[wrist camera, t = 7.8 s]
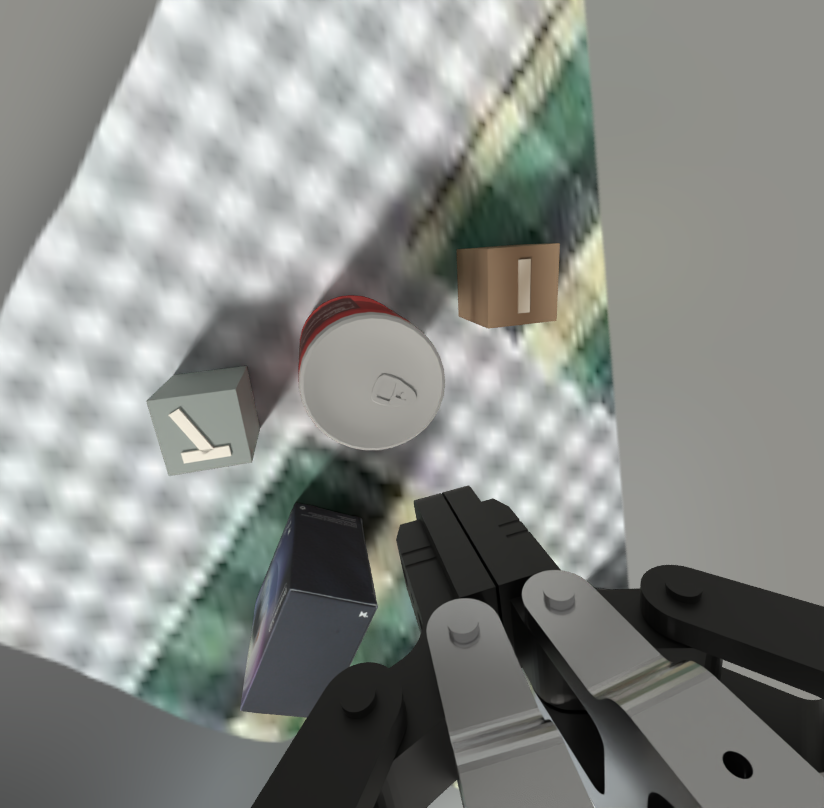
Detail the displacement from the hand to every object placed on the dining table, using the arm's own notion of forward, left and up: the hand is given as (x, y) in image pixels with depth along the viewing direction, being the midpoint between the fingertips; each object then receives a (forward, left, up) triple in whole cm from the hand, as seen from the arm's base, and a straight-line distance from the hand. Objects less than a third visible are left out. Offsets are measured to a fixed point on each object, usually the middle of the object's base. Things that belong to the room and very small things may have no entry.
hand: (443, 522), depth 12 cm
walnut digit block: (-6, -10, -24) cm, 27 cm away
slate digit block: (+6, +9, -24) cm, 26 cm away
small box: (-7, +18, -24) cm, 31 cm away
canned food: (0, 0, -24) cm, 24 cm away
